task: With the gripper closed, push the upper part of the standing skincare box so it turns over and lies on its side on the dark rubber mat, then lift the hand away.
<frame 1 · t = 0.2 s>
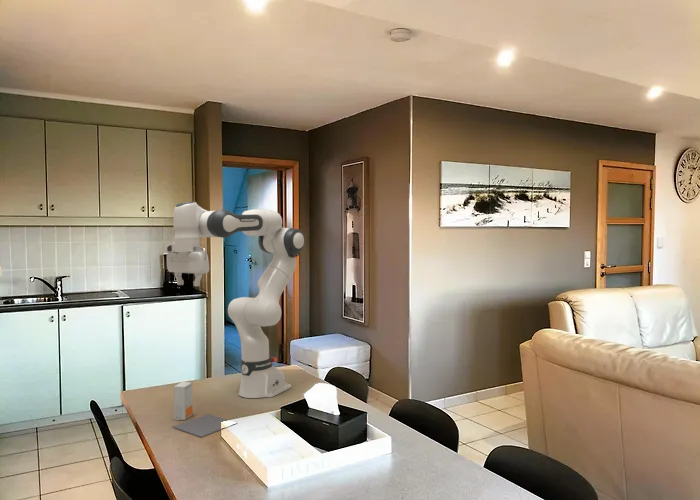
hand: (188, 285, 191), 47 cm above the table, tool pointing down, fingers open, 8 cm apart
skincare box: (184, 417, 191), on the table
mat: (205, 425, 182), on the table
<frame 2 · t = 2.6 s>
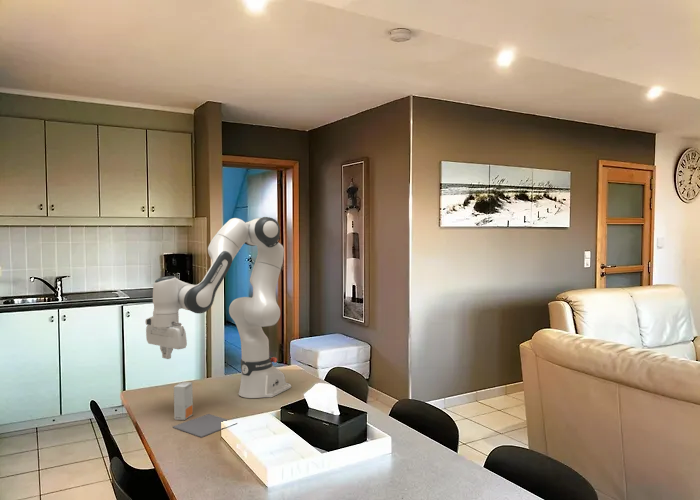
hand: (166, 358, 195), 20 cm above the table, tool pointing down, fingers closed
nothing on the table moved.
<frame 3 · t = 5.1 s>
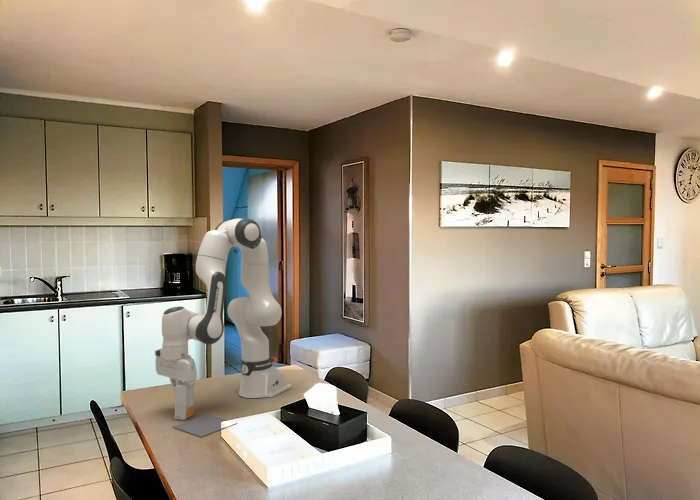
hand: (176, 390, 193), 9 cm above the table, tool pointing down, fingers closed
skincare box: (184, 417, 191), on the table, touching gripper
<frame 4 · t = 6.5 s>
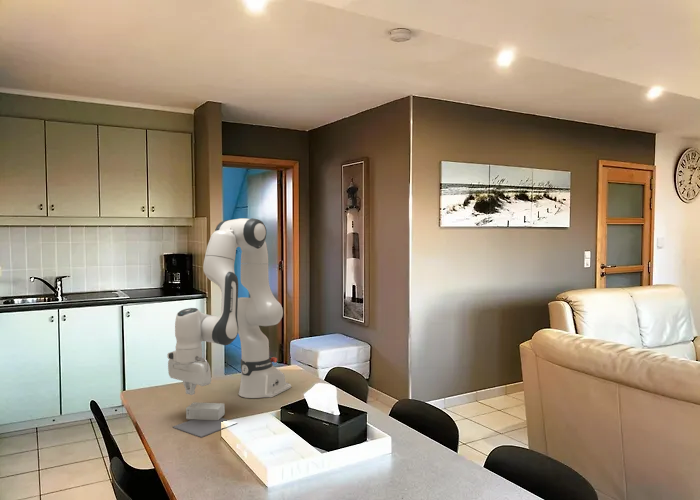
hand: (190, 393, 188), 9 cm above the table, tool pointing down, fingers closed
skincare box: (189, 410, 190), point 3 cm above the table, touching mat
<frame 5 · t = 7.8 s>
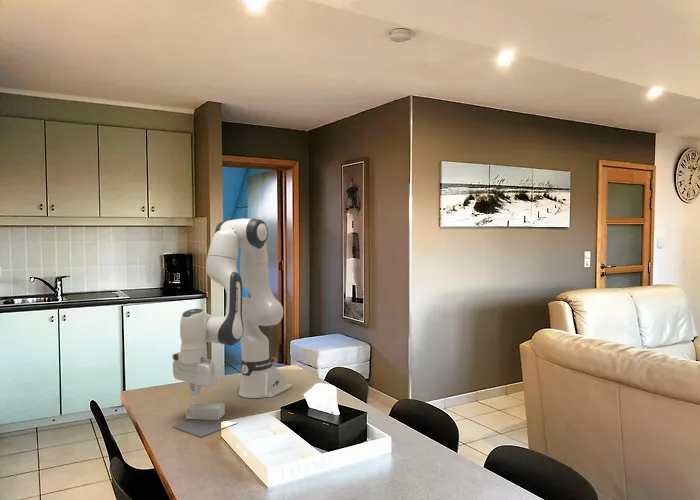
hand: (195, 395, 186), 9 cm above the table, tool pointing down, fingers closed
nothing on the table moved.
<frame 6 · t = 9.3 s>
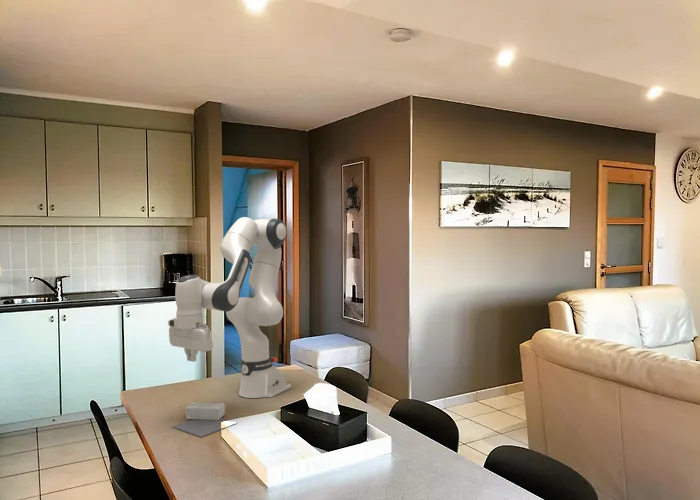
hand: (191, 360, 187), 21 cm above the table, tool pointing down, fingers closed
nothing on the table moved.
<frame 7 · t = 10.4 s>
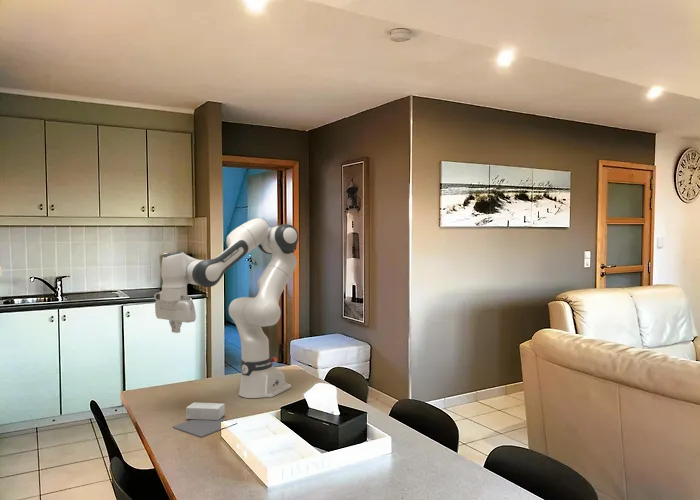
hand: (176, 332, 198), 29 cm above the table, tool pointing down, fingers closed
nothing on the table moved.
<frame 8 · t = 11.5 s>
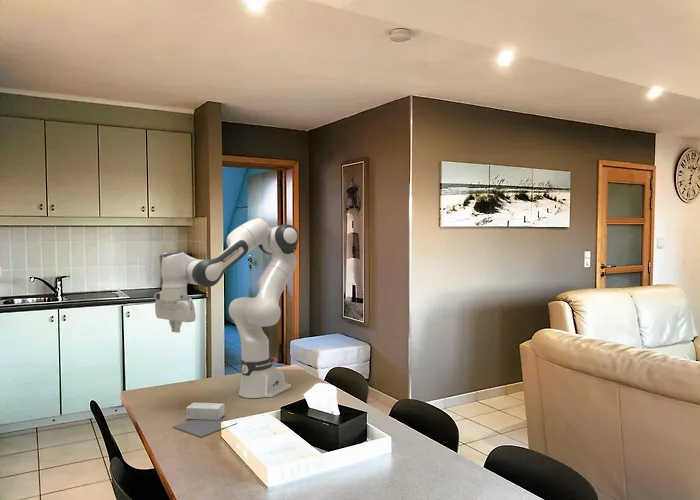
hand: (175, 332, 198), 29 cm above the table, tool pointing down, fingers closed
nothing on the table moved.
at the end: skincare box tilted 90°; skincare box touching mat; skincare box inside the target area (5.2 cm from its centre), point 2.5 cm above the table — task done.
